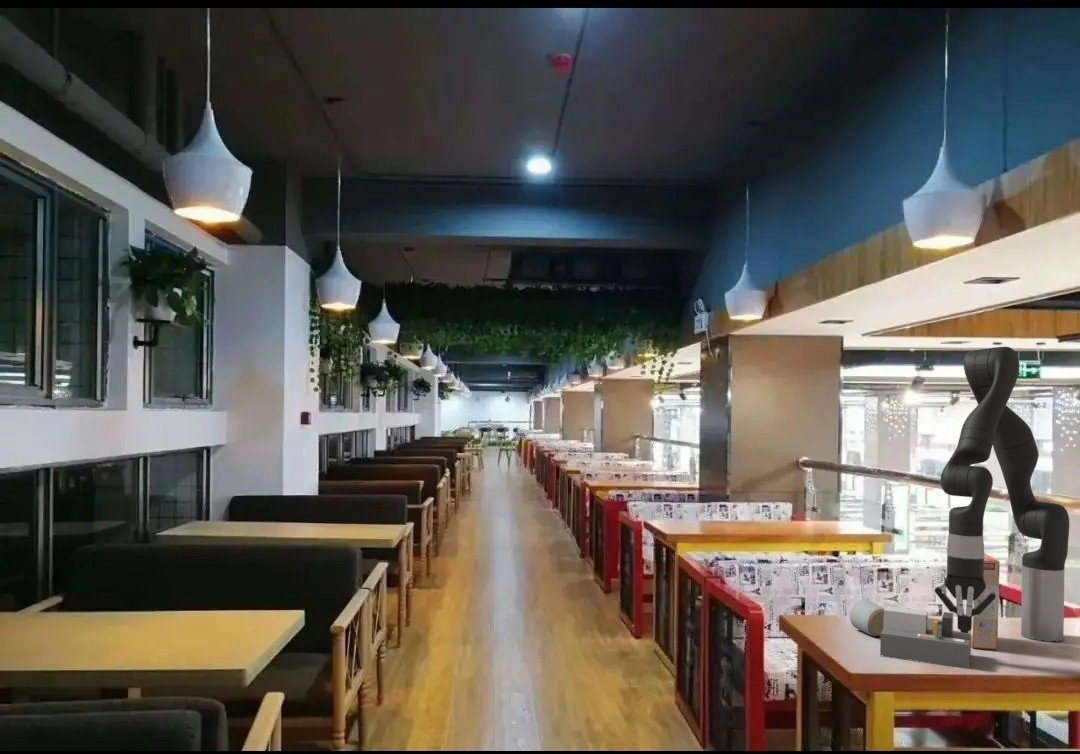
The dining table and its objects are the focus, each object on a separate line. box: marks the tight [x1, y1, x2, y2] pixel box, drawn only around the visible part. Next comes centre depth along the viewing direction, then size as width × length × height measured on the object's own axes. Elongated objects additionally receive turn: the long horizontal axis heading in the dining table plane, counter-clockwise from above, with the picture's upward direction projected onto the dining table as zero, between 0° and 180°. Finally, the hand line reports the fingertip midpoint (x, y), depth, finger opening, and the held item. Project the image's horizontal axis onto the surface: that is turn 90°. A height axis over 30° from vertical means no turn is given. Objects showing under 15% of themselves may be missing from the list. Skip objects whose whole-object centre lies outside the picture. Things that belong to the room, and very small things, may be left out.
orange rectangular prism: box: [933, 621, 937, 636], centre depth 204 cm, size 1×1×3 cm
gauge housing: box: [879, 605, 972, 669], centre depth 208 cm, size 12×18×9 cm, turn 63°
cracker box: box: [957, 552, 1000, 651], centre depth 221 cm, size 14×6×21 cm, turn 168°
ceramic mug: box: [849, 599, 885, 638], centre depth 227 cm, size 11×8×8 cm
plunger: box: [926, 611, 955, 638], centre depth 208 cm, size 9×11×4 cm
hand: (964, 632), depth 206 cm, fingers closed
